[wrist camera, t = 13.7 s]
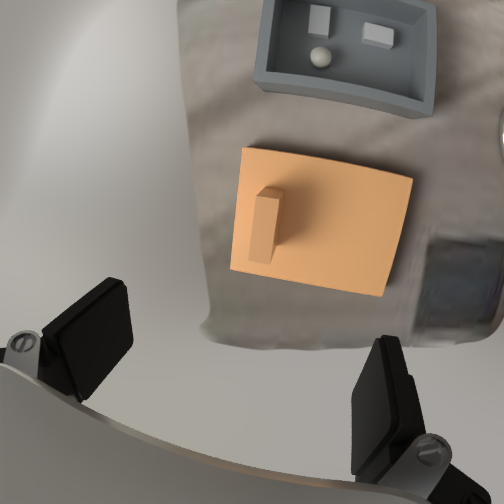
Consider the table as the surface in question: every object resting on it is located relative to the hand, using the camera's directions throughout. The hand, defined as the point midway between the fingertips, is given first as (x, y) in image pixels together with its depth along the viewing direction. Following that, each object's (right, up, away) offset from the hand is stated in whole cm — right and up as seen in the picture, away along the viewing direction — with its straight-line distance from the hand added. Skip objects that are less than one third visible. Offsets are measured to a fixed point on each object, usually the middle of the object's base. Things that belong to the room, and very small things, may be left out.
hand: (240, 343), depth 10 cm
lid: (+8, +7, +22) cm, 24 cm away
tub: (+10, +24, +15) cm, 30 cm away
